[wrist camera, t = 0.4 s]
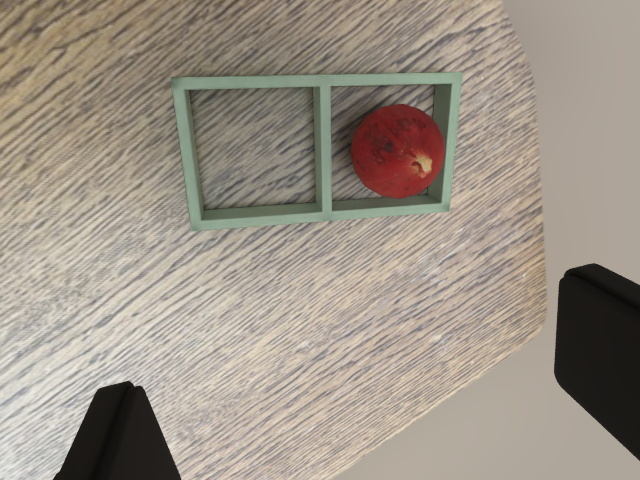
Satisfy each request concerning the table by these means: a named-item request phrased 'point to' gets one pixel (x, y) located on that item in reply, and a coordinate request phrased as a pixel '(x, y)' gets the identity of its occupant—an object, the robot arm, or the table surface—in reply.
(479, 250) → the table surface
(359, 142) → the red pomegranate
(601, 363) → the robot arm
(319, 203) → the green rectangular frame
